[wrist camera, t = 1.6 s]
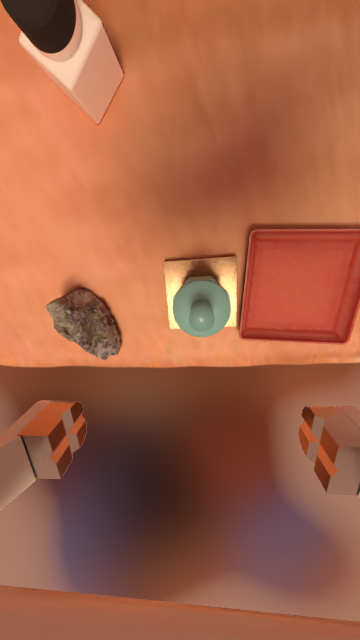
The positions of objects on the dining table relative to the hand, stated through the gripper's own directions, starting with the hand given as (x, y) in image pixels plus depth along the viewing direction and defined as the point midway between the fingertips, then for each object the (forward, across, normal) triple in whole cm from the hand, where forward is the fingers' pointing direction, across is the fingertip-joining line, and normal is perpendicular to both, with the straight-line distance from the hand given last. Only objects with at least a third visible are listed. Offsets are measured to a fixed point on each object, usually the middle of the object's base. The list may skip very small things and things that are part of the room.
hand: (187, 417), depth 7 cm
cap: (+24, -1, +1) cm, 24 cm away
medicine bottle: (+31, +14, -30) cm, 45 cm away
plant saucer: (+30, -17, 0) cm, 35 cm away
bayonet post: (+30, -1, +1) cm, 30 cm away
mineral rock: (+31, +20, +6) cm, 37 cm away
